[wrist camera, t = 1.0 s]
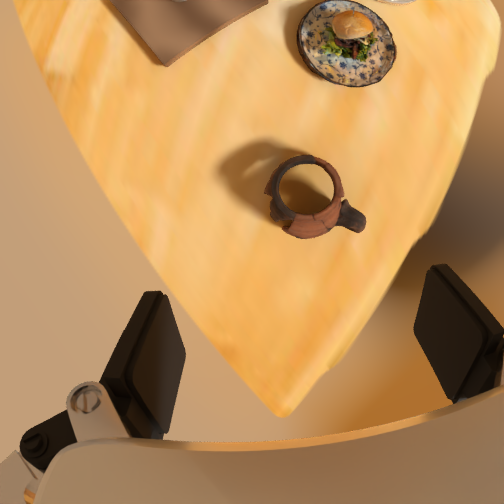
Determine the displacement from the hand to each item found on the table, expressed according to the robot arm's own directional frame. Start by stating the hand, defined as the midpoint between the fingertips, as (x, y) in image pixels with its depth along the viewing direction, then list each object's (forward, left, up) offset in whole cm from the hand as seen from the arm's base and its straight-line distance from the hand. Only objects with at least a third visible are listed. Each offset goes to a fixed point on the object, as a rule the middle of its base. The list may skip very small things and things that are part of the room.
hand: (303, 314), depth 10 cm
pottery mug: (-2, +6, -27) cm, 28 cm away
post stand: (-5, -24, -27) cm, 37 cm away
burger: (-17, -8, -27) cm, 33 cm away
